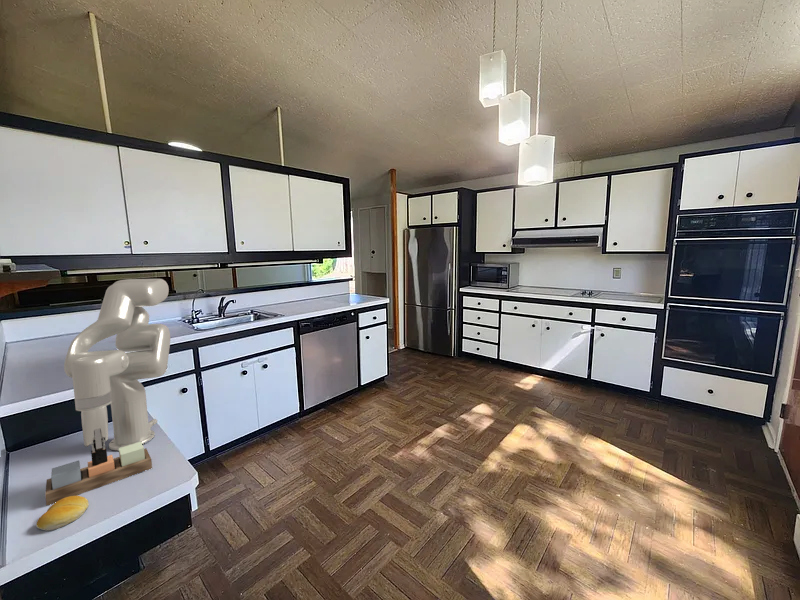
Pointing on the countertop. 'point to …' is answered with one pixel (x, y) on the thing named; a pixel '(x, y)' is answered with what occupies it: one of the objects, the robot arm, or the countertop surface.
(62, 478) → the slate button
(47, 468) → the countertop surface
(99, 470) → the orange block
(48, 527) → the bread roll
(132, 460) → the sage button
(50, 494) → the wooden tray
